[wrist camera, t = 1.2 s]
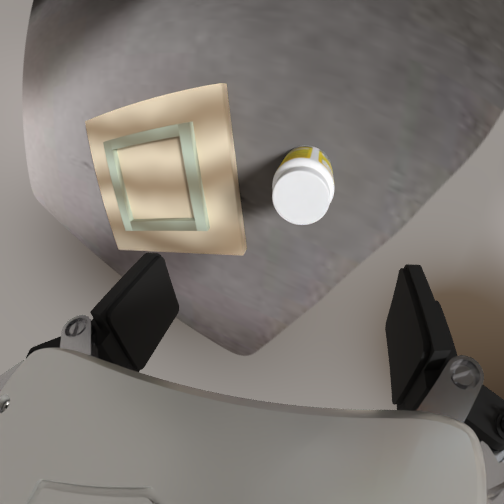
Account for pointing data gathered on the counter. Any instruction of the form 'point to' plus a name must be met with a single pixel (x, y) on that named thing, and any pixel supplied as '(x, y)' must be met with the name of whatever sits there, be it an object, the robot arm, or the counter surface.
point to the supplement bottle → (303, 185)
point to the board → (171, 173)
